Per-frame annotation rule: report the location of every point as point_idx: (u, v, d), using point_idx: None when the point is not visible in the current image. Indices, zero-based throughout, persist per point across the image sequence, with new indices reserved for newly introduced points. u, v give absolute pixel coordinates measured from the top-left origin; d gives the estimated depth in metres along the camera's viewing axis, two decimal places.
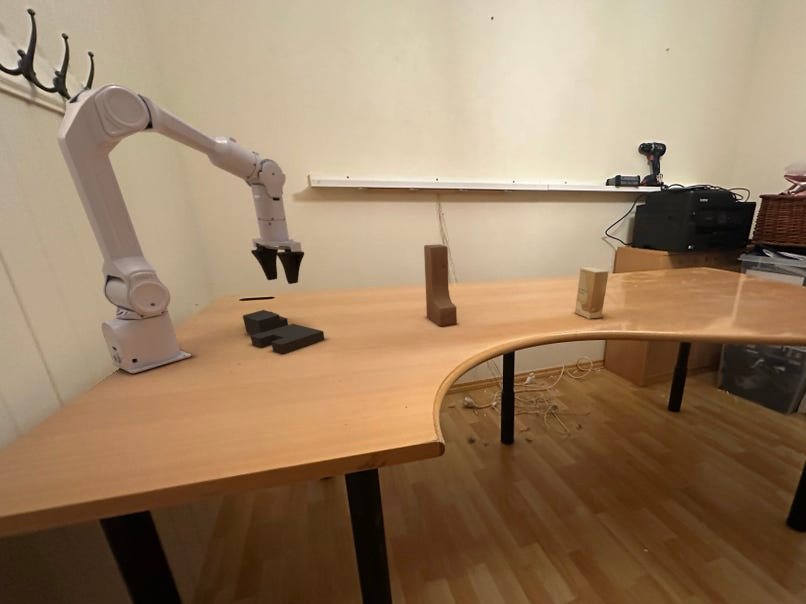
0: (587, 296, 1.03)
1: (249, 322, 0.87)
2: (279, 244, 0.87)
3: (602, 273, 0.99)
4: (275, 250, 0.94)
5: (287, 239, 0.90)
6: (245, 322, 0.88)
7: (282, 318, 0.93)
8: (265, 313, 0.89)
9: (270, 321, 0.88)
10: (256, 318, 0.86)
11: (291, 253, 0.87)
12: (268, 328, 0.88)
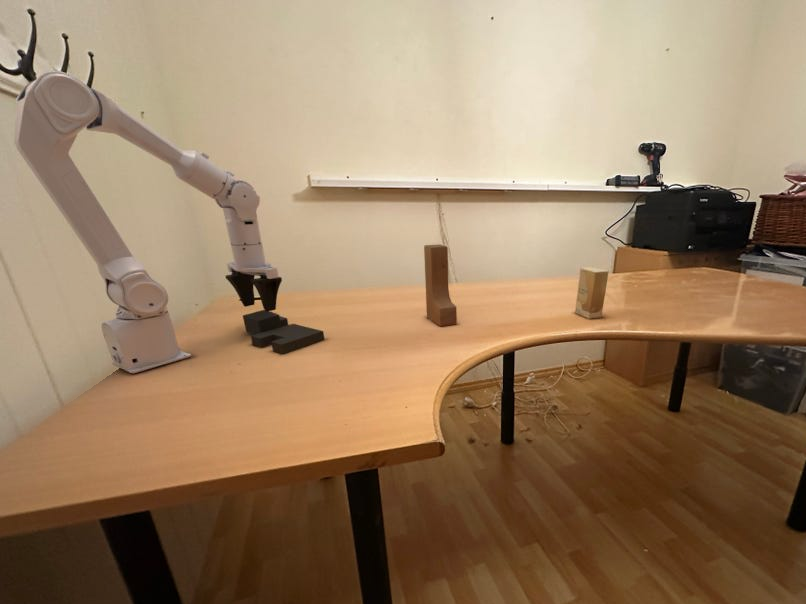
0: (587, 296, 1.03)
1: (249, 322, 0.87)
2: (254, 270, 0.81)
3: (602, 273, 0.99)
4: (252, 274, 0.89)
5: (263, 264, 0.84)
6: (245, 322, 0.88)
7: (282, 318, 0.93)
8: (265, 313, 0.89)
9: (270, 321, 0.88)
10: (256, 318, 0.86)
11: (267, 280, 0.82)
12: (268, 328, 0.88)
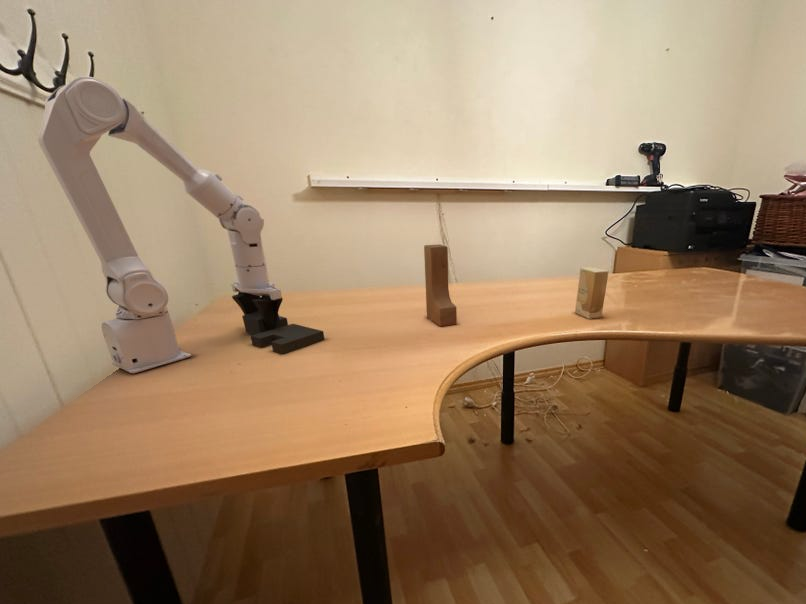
0: (587, 296, 1.03)
1: (249, 322, 0.87)
2: (258, 291, 0.83)
3: (602, 273, 0.99)
4: (258, 294, 0.90)
5: (267, 285, 0.86)
6: (245, 322, 0.88)
7: (282, 317, 0.93)
8: None
9: None
10: (255, 318, 0.86)
11: (268, 300, 0.84)
12: None
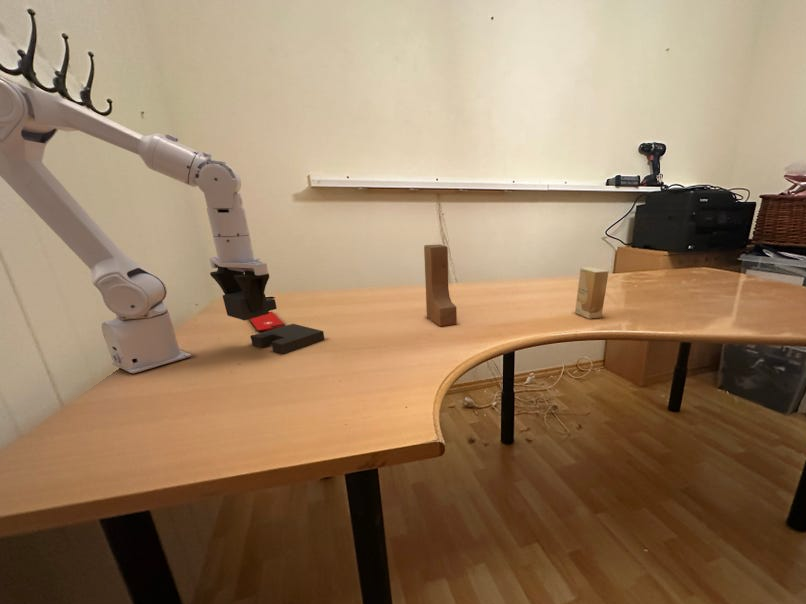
0: (587, 296, 1.03)
1: (230, 303, 0.75)
2: (240, 266, 0.71)
3: (602, 273, 0.99)
4: (241, 271, 0.78)
5: (251, 259, 0.73)
6: (226, 303, 0.76)
7: (269, 299, 0.80)
8: None
9: None
10: (238, 297, 0.74)
11: (252, 276, 0.72)
12: None
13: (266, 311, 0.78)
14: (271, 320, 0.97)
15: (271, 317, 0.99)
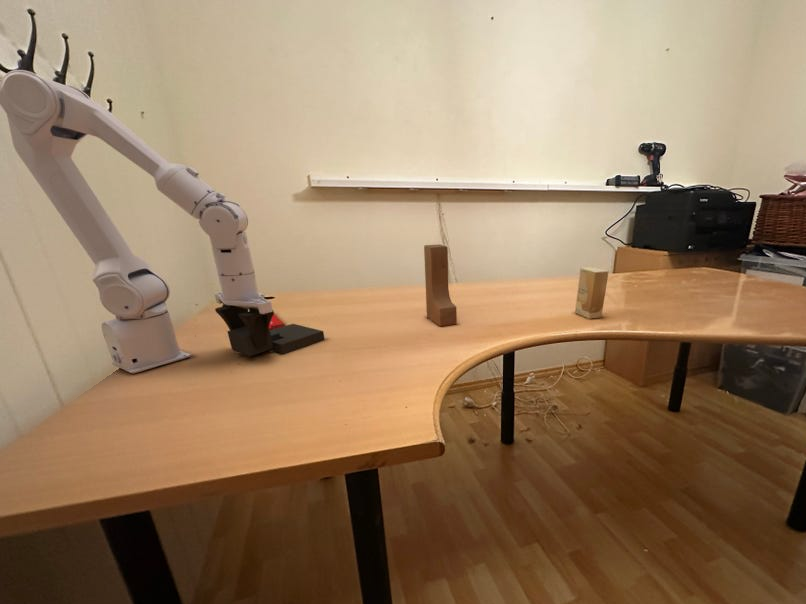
0: (587, 296, 1.03)
1: (235, 339, 0.75)
2: (245, 304, 0.71)
3: (602, 273, 0.99)
4: None
5: (256, 296, 0.74)
6: (231, 338, 0.76)
7: (274, 332, 0.81)
8: None
9: None
10: (242, 334, 0.74)
11: (257, 314, 0.72)
12: None
13: (270, 346, 0.78)
14: (271, 320, 0.97)
15: None
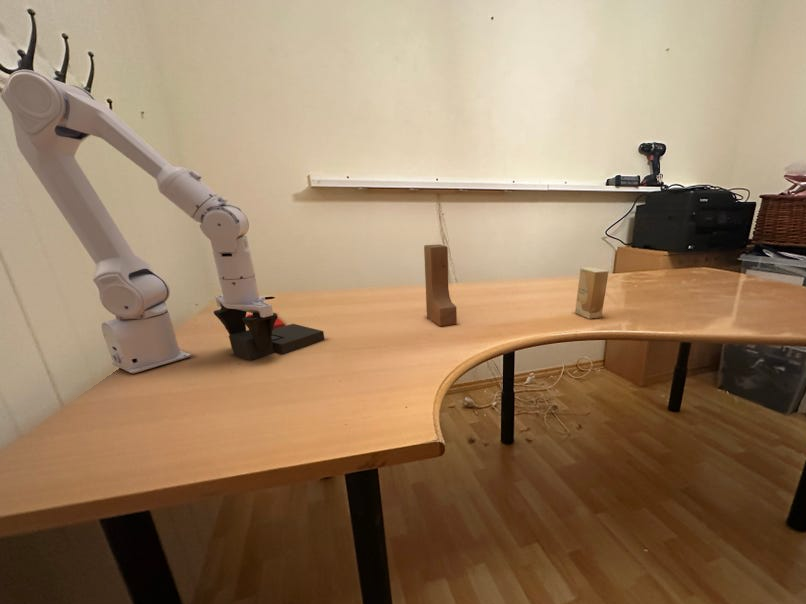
0: (587, 296, 1.03)
1: (236, 343, 0.76)
2: (245, 308, 0.71)
3: (602, 273, 0.99)
4: None
5: (256, 299, 0.74)
6: (232, 342, 0.76)
7: (275, 337, 0.81)
8: None
9: None
10: (244, 338, 0.75)
11: (260, 318, 0.72)
12: None
13: (271, 350, 0.79)
14: None
15: None
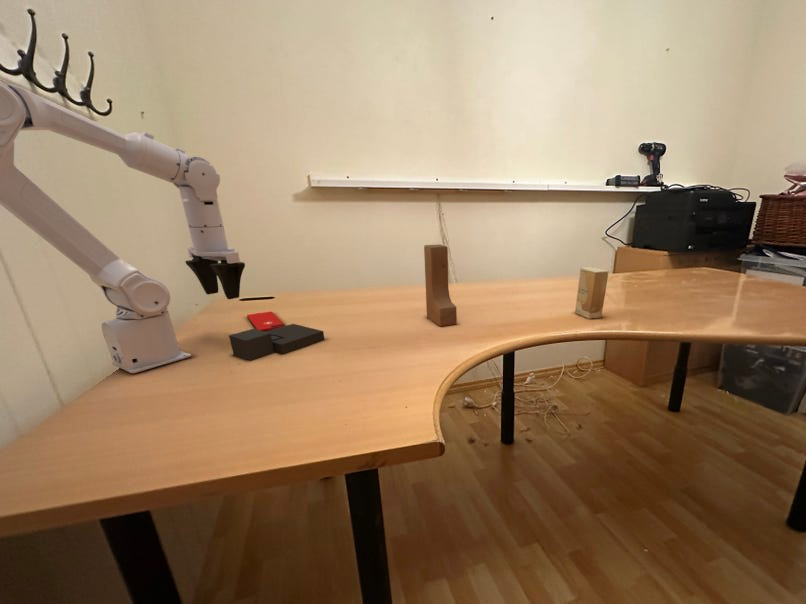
0: (587, 296, 1.03)
1: (236, 343, 0.76)
2: (213, 254, 0.76)
3: (602, 273, 0.99)
4: (215, 260, 0.83)
5: (225, 248, 0.79)
6: (232, 342, 0.76)
7: (275, 337, 0.81)
8: (255, 332, 0.78)
9: (260, 341, 0.76)
10: (244, 338, 0.75)
11: (227, 265, 0.76)
12: (257, 349, 0.76)
13: (271, 350, 0.79)
14: (271, 320, 0.97)
15: (271, 317, 0.99)
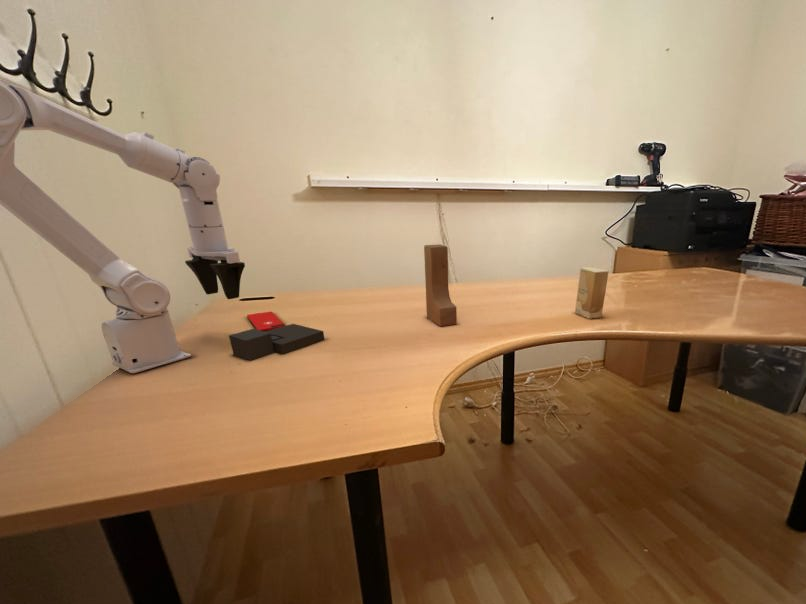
0: (587, 296, 1.03)
1: (236, 343, 0.76)
2: (213, 254, 0.76)
3: (602, 273, 0.99)
4: (215, 260, 0.83)
5: (225, 248, 0.79)
6: (232, 342, 0.76)
7: (275, 337, 0.81)
8: (255, 332, 0.78)
9: (260, 341, 0.76)
10: (244, 338, 0.75)
11: (227, 265, 0.76)
12: (257, 349, 0.76)
13: (271, 350, 0.79)
14: (271, 320, 0.97)
15: (271, 317, 0.99)
